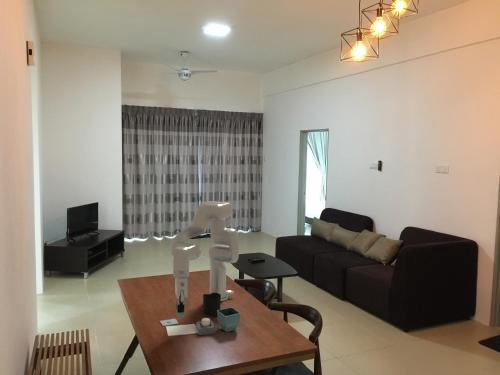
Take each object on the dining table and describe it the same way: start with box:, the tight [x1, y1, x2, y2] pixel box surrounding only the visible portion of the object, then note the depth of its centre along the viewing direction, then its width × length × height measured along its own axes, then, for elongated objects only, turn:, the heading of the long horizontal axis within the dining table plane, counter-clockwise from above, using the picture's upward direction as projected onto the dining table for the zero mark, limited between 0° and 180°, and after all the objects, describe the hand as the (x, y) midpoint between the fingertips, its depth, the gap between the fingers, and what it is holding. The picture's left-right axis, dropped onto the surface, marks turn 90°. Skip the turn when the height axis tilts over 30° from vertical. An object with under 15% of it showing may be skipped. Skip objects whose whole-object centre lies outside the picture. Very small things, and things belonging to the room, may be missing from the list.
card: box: [159, 318, 180, 327], centre depth 205 cm, size 8×6×1 cm
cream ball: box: [201, 317, 211, 327], centre depth 197 cm, size 4×4×4 cm
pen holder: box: [202, 293, 222, 317], centre depth 218 cm, size 9×9×10 cm
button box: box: [195, 320, 216, 336], centre depth 197 cm, size 8×8×3 cm
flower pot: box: [216, 306, 242, 333], centre depth 199 cm, size 9×9×9 cm
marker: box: [176, 297, 184, 316], centre depth 194 cm, size 3×3×10 cm
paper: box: [165, 323, 198, 337], centre depth 197 cm, size 14×10×1 cm
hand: (180, 310), depth 194 cm, fingers closed on marker, 3 cm apart
